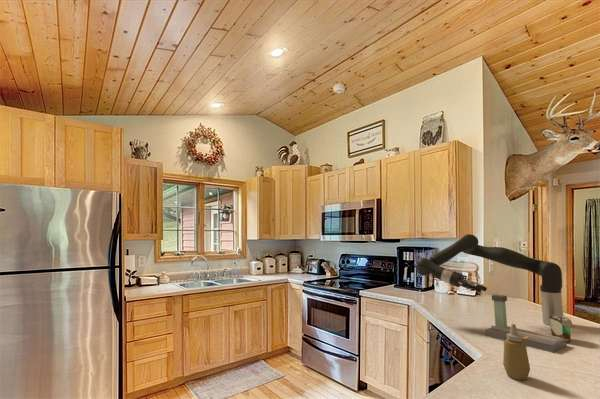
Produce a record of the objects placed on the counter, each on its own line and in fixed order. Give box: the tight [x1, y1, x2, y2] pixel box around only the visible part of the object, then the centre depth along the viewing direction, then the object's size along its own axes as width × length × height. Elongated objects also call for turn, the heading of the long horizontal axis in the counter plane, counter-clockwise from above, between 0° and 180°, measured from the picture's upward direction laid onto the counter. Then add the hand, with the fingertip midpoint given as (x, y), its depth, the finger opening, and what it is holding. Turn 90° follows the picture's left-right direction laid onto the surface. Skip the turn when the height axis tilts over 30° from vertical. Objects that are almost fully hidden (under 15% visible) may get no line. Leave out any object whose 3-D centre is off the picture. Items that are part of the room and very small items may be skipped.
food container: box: [549, 315, 573, 344], centre depth 156 cm, size 12×6×10 cm, turn 168°
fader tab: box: [491, 293, 508, 329], centre depth 165 cm, size 4×5×16 cm
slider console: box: [485, 324, 568, 354], centre depth 156 cm, size 14×28×4 cm, turn 33°
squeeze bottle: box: [502, 323, 531, 381], centre depth 119 cm, size 8×8×18 cm
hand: (483, 290), depth 169 cm, fingers open, 8 cm apart
